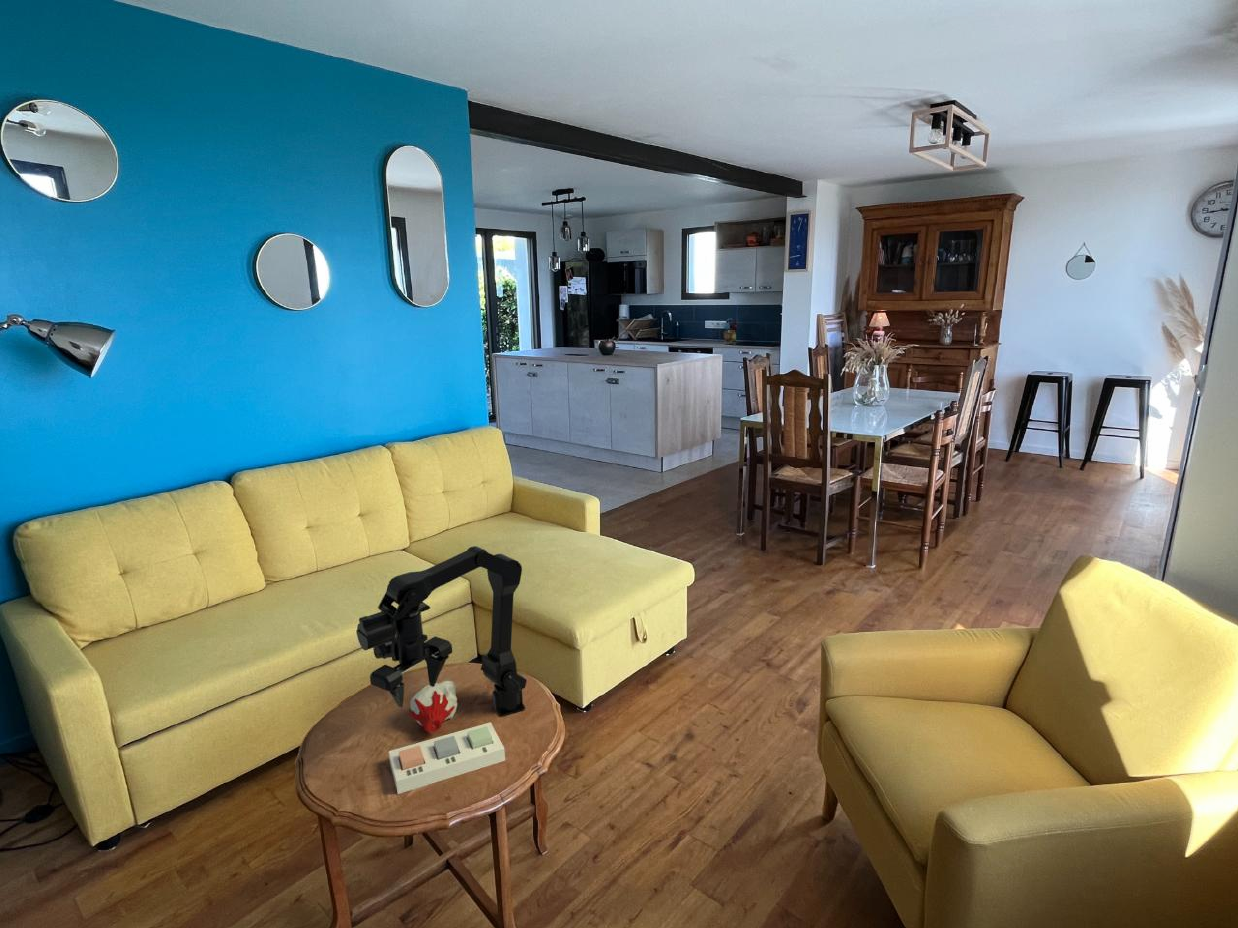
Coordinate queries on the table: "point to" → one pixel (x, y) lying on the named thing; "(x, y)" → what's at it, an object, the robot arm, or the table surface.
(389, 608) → the robot arm
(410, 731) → the table surface
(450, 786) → the table surface
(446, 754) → the slate tile
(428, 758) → the button board
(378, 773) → the table surface
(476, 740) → the sage tile
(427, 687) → the red irregular piece
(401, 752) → the terracotta tile
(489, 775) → the table surface
